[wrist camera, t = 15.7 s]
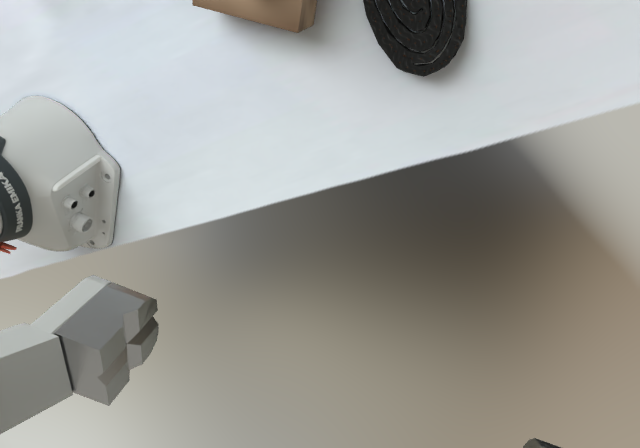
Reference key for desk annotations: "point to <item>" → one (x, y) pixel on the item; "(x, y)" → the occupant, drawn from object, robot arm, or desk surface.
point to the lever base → (267, 11)
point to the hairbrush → (417, 40)
